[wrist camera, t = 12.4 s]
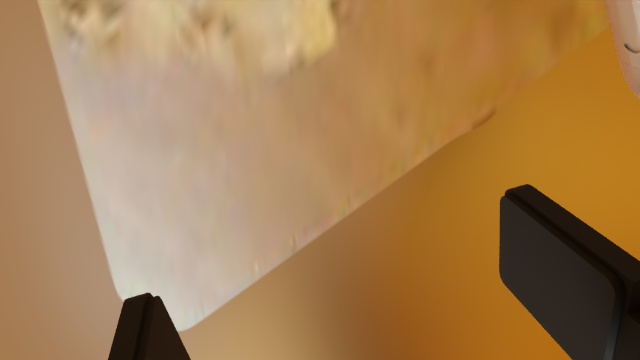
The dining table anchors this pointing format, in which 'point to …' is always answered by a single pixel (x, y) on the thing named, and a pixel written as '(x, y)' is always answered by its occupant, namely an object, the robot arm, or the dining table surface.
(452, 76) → the dining table surface
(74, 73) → the dining table surface
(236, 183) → the dining table surface
